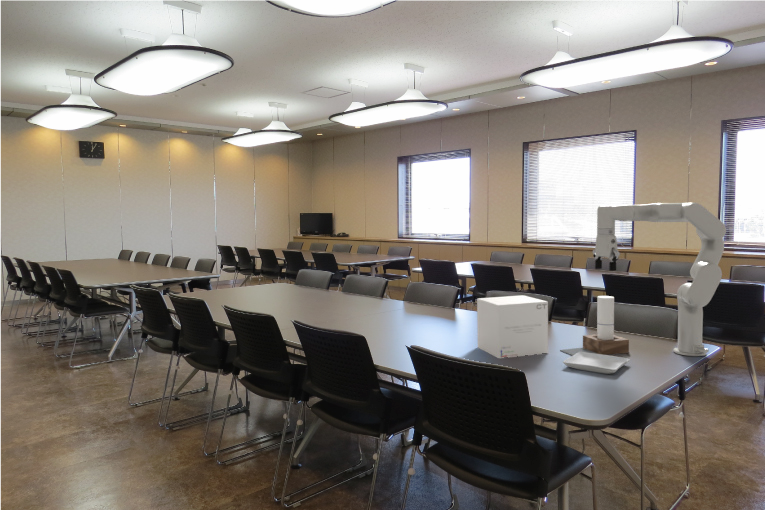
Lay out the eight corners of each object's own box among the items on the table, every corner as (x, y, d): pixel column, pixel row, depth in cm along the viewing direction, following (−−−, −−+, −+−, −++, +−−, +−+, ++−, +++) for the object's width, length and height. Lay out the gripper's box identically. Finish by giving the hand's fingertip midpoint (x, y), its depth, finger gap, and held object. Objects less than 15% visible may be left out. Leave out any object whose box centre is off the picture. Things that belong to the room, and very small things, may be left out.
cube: (498, 359, 233) (498, 305, 231) (477, 348, 254) (477, 298, 252) (548, 354, 240) (547, 301, 238) (523, 343, 260) (523, 295, 259)
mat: (599, 354, 235) (599, 353, 235) (576, 357, 232) (576, 356, 232) (582, 348, 246) (582, 347, 246) (560, 350, 243) (560, 349, 243)
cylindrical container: (596, 351, 241) (596, 297, 240) (597, 347, 248) (598, 295, 246) (613, 352, 238) (613, 298, 236) (614, 349, 244) (614, 296, 242)
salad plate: (579, 358, 232) (579, 350, 232) (630, 365, 218) (630, 357, 218) (561, 369, 216) (561, 361, 215) (615, 378, 202) (615, 369, 202)
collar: (628, 352, 238) (628, 339, 237) (602, 355, 234) (602, 342, 234) (607, 345, 251) (608, 333, 251) (582, 348, 248) (582, 335, 247)
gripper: (626, 232, 232) (625, 271, 233) (600, 231, 248) (600, 267, 249) (611, 233, 230) (611, 271, 231) (586, 232, 246) (586, 268, 248)
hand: (605, 269), depth 240 cm, fingers open, 9 cm apart
